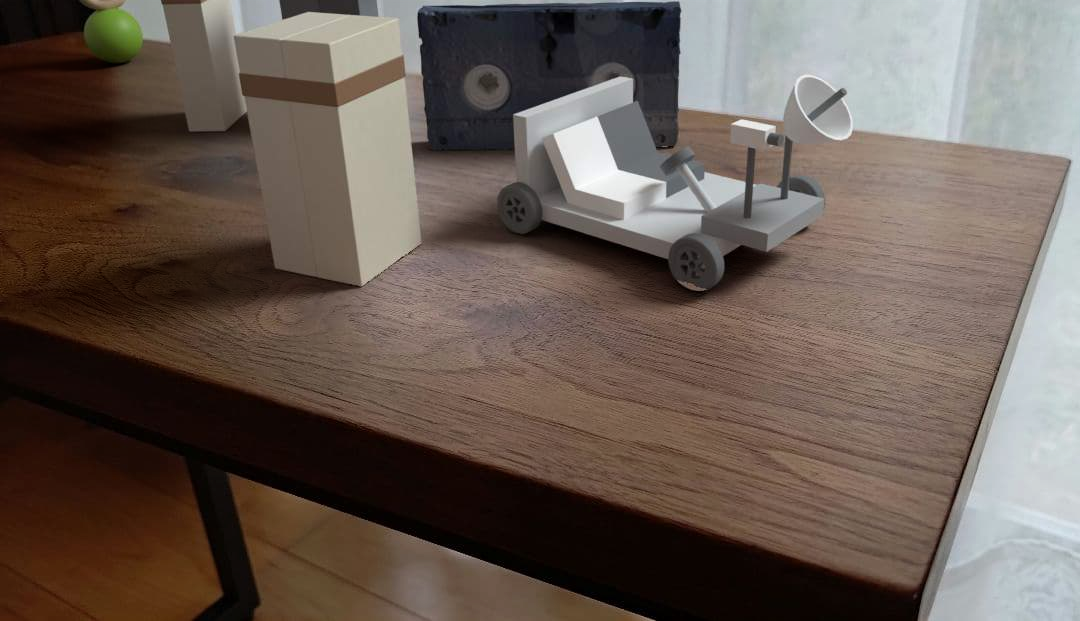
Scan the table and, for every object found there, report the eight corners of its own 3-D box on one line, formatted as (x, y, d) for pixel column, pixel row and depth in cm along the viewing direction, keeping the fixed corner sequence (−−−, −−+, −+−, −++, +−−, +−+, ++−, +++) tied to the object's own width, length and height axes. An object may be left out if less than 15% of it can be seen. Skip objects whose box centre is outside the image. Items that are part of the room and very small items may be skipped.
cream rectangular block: (188, 132, 79) (152, -39, 73) (214, 109, 85) (183, -51, 79) (225, 131, 79) (193, -40, 73) (250, 109, 85) (221, -52, 79)
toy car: (888, 66, 52) (775, 121, 45) (865, 238, 57) (760, 314, 49) (615, 26, 63) (487, 65, 55) (615, 173, 67) (497, 228, 60)
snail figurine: (71, 67, 100) (39, -59, 95) (128, 53, 105) (100, -68, 99) (101, 74, 97) (70, -56, 92) (158, 59, 102) (132, -65, 96)
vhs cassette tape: (677, 137, 74) (681, -1, 69) (678, 150, 71) (682, 7, 67) (434, 137, 76) (422, 3, 71) (426, 150, 73) (413, 12, 69)
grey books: (299, 130, 79) (270, -57, 72) (318, 107, 84) (293, -68, 78) (373, 128, 78) (351, -59, 72) (388, 106, 84) (369, -70, 77)
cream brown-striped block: (273, 269, 56) (231, 35, 50) (338, 229, 61) (307, 11, 55) (361, 287, 53) (329, 44, 47) (423, 244, 58) (400, 17, 52)
